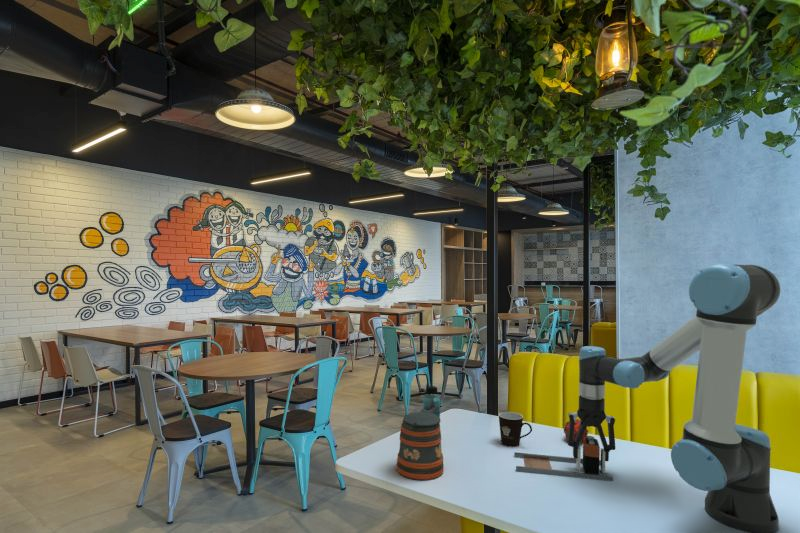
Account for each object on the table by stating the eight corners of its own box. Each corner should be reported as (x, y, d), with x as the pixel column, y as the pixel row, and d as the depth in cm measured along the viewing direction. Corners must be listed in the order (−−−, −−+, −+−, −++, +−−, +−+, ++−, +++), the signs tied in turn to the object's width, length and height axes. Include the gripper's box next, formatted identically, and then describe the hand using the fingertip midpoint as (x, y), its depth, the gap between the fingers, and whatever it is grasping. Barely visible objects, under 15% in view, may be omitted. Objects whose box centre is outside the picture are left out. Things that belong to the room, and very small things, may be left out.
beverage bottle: (419, 444, 161) (420, 388, 161) (424, 438, 167) (425, 383, 168) (437, 447, 159) (438, 390, 159) (441, 440, 165) (442, 385, 166)
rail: (612, 480, 135) (612, 476, 135) (516, 471, 141) (516, 467, 141) (603, 464, 147) (603, 460, 147) (514, 455, 153) (514, 452, 153)
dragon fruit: (576, 439, 173) (579, 456, 162) (558, 425, 174) (558, 440, 163) (591, 424, 171) (594, 439, 159) (572, 409, 172) (574, 424, 161)
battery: (597, 467, 145) (597, 436, 145) (599, 476, 138) (600, 443, 138) (582, 465, 146) (582, 434, 146) (584, 474, 140) (584, 441, 140)
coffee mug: (493, 440, 166) (493, 413, 166) (512, 437, 169) (512, 410, 170) (513, 452, 155) (514, 423, 155) (533, 449, 159) (534, 420, 159)
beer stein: (408, 452, 154) (409, 393, 154) (451, 458, 149) (452, 398, 150) (390, 476, 136) (391, 409, 136) (437, 484, 131) (438, 415, 132)
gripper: (621, 395, 144) (620, 467, 144) (557, 390, 148) (556, 461, 148) (628, 402, 137) (627, 478, 137) (560, 397, 141) (559, 471, 141)
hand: (590, 469), depth 142 cm, fingers open, 6 cm apart
